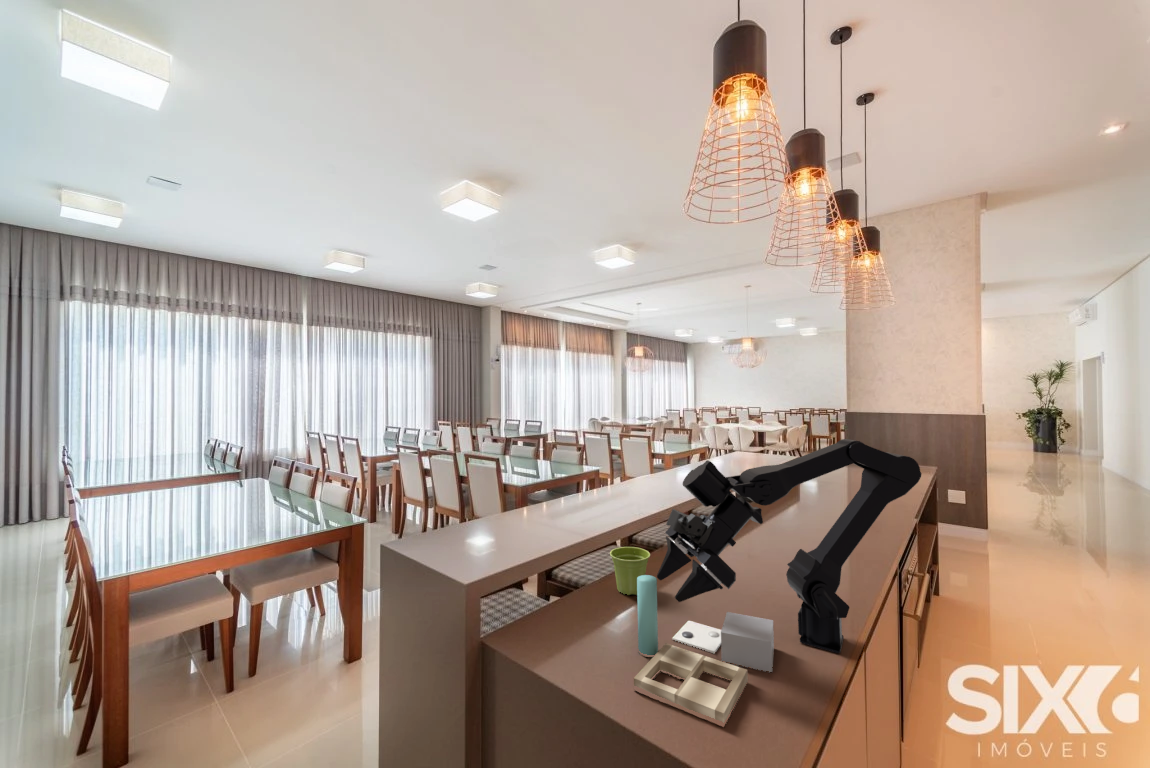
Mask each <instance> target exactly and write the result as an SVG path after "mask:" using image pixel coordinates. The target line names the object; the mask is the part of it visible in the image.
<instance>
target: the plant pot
mask: <svg viewBox="0 0 1150 768" xmlns="http://www.w3.org/2000/svg"><path fill="white" fill-rule="evenodd" d="M609 555H610V557H611V560H612V562H613V568H614V575H615V582H616V589H617V591H618V592H619V593H620V592H621V593H620V594H622V593H623V594H622V595H625V594H627V595H626V596H630V595H635V596H637V577H639V576H641V575H646V572H647V567H648V562H649V559H650V558H651V553H650V552H649V550H646V549H644V548H641V547H635V546H622V547H616V548H613V549H611V550H610V552H609Z"/></svg>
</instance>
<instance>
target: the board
mask: <svg viewBox="0 0 1150 768" xmlns="http://www.w3.org/2000/svg"><path fill="white" fill-rule="evenodd" d="M659 670H663V671H666V672H669V673H671V674H674V675H676V676H679V677H681V678H685V680H684V681H683V682H682V683H681V684H680V686H679V687H678V688H675V687H673V686H670V685H667V684H664V683H662V682H659V681H656V680H655V679H654V680H652V679H651V678H652V677H653V676H654V675H655V674H656V673H657V672H658V671H659ZM703 671H705V672H708V673H711V674H715V675H718V676H721V677H724V678H727V679H730V680H732V681H730V683H729V684H728V686H727V688H726V689H725V688H723V687H720V686H717V685H714V684H712V683H708V682H706V681H704V680H701V679H700V678H699V676H700V675H701V674H702V672H703ZM705 672H703V673H705ZM708 673H707V674H708ZM711 674H710V675H711ZM702 675H703V674H702ZM702 675H701V676H702ZM698 678H699V679H698ZM748 678H749V676H748V669H747V668H743V667H741V666H738V665H735V664H730V663H726V662H722V660H718V659H715V658H713V657H709V656H706V655H703V654H701V653H697V652H694V651H692V650H691V651H690V650H689V649H688V650H687V649H686V648H685V649H684V648H682V647H678V646H676V645H673V644H670V643H665V644H663V646H662V647H661V648H660V649H658V652H657V653H656V655H655V656H654V657H652V658H651V659H650V660H649V661H648V662H647V663H646V664H645V665H644V666H643V667H642V669H641V670H640V671H639V672H638V673H637V674H636V675H635V676H634V677H633V687H634V686H637V687H639V688H642V689H644V690H646V691H648V692H650V693H652V694H655V695H657V696H659V697H662V698H665V699H667V700H669V701H671V702H673V703H676V704H679V705H681V706H683V707H685V708H687V709H689V710H693V711H695V712H698V713H701V714H703V715H706V716H709V717H711V718H714V719H716V720H719V721H722V722H723V723H724V722H725V720H726V719H727V717H728V715H729V714H730V712H731V710H732V709H733V707H734V705H735V703H736V702H737V700H738V698H739V696H740V694H741V693H742V691H743V689H744V687H745V686H746V687H747V685H746V683H747V682H748V681H749V679H748ZM748 683H749V682H748ZM748 683H747V684H748ZM746 687H745V688H746ZM744 690H745V689H744ZM743 692H744V691H743ZM742 694H743V693H742ZM740 697H741V696H740ZM739 699H740V698H739ZM738 701H739V700H738ZM737 703H738V702H737Z"/></svg>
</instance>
